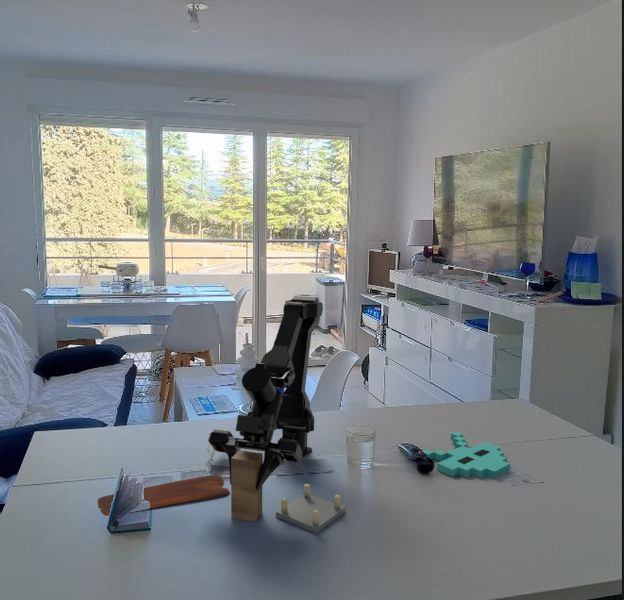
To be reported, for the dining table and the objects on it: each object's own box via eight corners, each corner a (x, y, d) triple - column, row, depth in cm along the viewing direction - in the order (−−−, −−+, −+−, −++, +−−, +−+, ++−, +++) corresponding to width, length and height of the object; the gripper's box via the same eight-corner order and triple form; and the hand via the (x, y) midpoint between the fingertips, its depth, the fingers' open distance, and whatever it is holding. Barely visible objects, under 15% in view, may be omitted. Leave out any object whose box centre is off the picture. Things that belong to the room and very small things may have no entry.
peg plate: (305, 497, 128) (305, 481, 128) (345, 511, 123) (345, 495, 122) (275, 516, 120) (276, 500, 120) (316, 533, 115) (317, 516, 114)
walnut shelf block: (239, 507, 123) (239, 450, 121) (262, 511, 122) (262, 453, 120) (231, 517, 120) (231, 458, 117) (254, 521, 118) (255, 461, 116)
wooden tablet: (219, 477, 138) (219, 470, 138) (231, 497, 129) (231, 490, 128) (96, 498, 127) (96, 490, 127) (100, 521, 118) (99, 513, 118)
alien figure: (407, 459, 149) (477, 489, 134) (407, 450, 149) (477, 480, 134) (455, 439, 162) (524, 464, 147) (456, 431, 162) (525, 456, 147)
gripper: (211, 391, 123) (186, 465, 114) (299, 401, 118) (280, 479, 109) (227, 415, 132) (205, 485, 123) (309, 425, 127) (292, 499, 118)
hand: (244, 487), depth 118 cm, fingers closed on walnut shelf block, 5 cm apart
